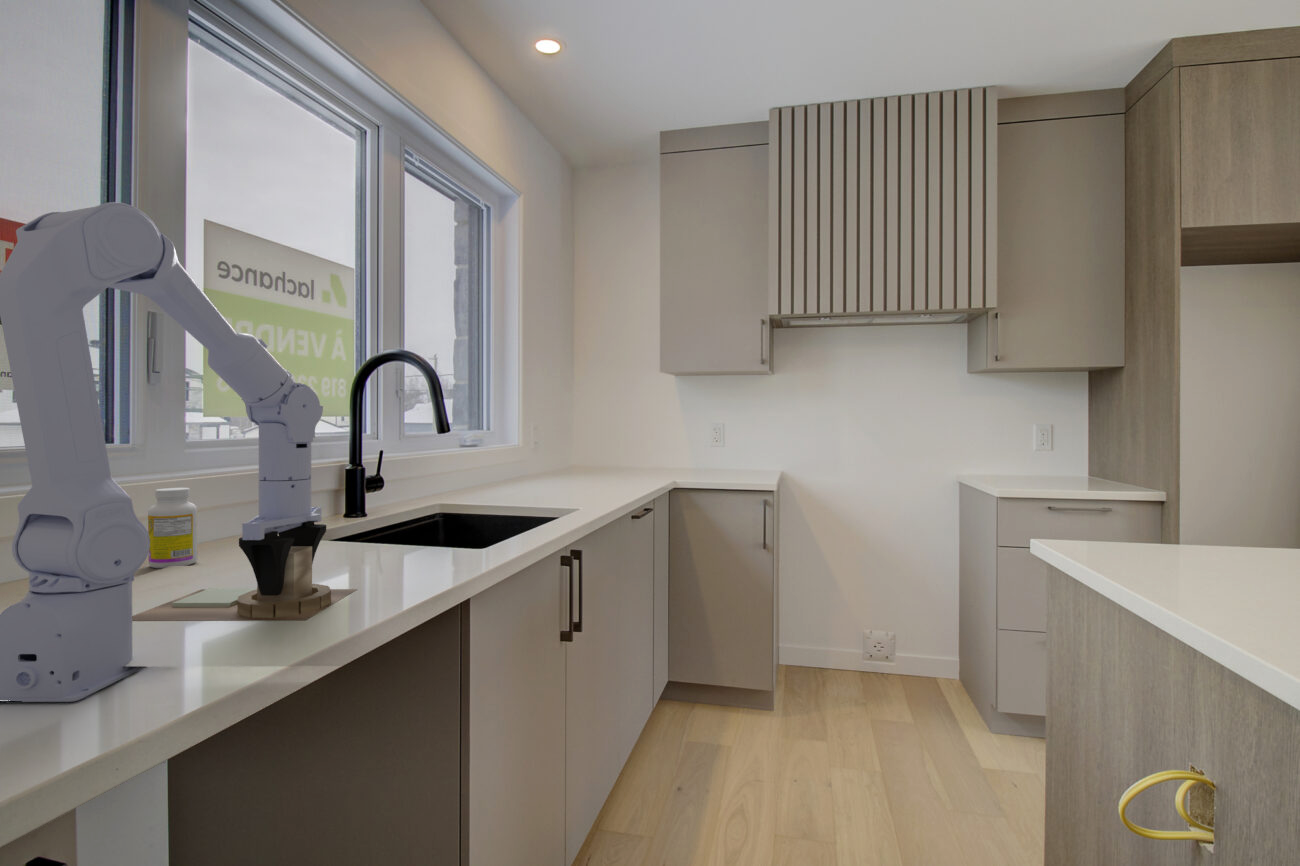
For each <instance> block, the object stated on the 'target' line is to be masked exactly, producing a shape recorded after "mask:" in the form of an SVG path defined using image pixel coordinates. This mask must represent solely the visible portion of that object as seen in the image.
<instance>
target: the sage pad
mask: <svg viewBox="0 0 1300 866" xmlns="http://www.w3.org/2000/svg"><path fill="white" fill-rule="evenodd" d="M253 590H257V587H255V588H254V587H253V588H250V587H249V588H247V587H246V588H241V587H240V588H238V587H236V588H235V587H234V588H229V587H228V588H208V589H207V590H204V591H202V592H199V593H197V594H194V595H191V596H189V597H186V598H184V599H181V600H179V601H176V602H173V603H172V607H231V606H233V605H235V604H237V603H238V597H239V596H241V595H243V594H245V593H247V592H250V591H253Z"/></svg>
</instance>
